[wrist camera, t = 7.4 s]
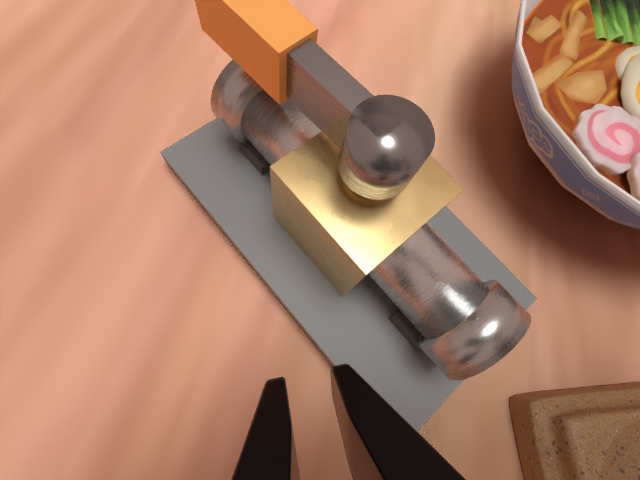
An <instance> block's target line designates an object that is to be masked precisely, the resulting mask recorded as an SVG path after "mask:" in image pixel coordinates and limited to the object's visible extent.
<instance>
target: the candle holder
mask: <svg viewBox="0 0 640 480" xmlns="http://www.w3.org/2000/svg"><path fill="white" fill-rule="evenodd" d="M509 405H510V411H511V417H512V423H513V429H514V434H515V439H516V443H517V448H518V453H519V457H520V462H521V467H522V471H523V476H524V480H640V382H633V383H622V384H612V385H601V386H590V387H580V388H569V389H558V390H548V391H537V392H530V393H524V394H517V395H514V396H512V397H510V403H509Z"/></svg>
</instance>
